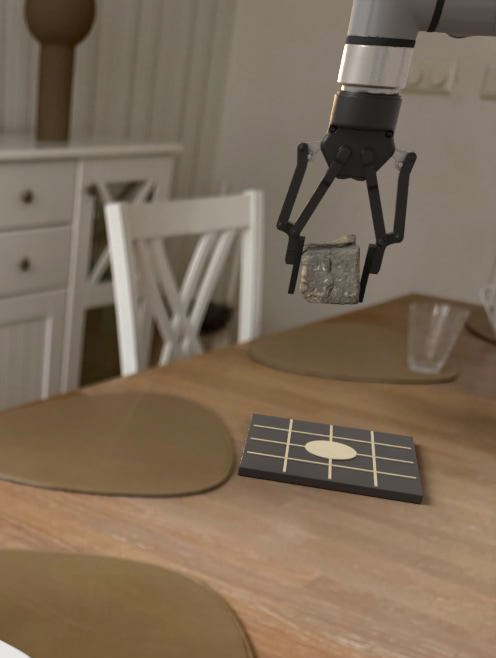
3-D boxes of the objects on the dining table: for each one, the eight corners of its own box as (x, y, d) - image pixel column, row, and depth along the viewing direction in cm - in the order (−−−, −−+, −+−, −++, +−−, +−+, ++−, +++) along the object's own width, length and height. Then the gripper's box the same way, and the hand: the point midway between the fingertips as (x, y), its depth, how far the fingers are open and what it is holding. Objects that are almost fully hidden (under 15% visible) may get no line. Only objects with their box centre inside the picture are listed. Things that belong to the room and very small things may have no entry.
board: (410, 444, 124) (413, 435, 123) (421, 504, 107) (423, 494, 106) (251, 420, 128) (252, 411, 127) (237, 474, 111) (239, 465, 111)
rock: (270, 243, 129) (346, 226, 128) (274, 296, 132) (348, 279, 131) (308, 265, 114) (394, 246, 113) (311, 323, 117) (395, 305, 117)
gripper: (461, 96, 113) (408, 300, 125) (280, 82, 117) (246, 280, 129) (467, 98, 107) (410, 312, 119) (276, 84, 111) (240, 291, 123)
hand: (325, 295), depth 124 cm, fingers closed on rock, 8 cm apart
